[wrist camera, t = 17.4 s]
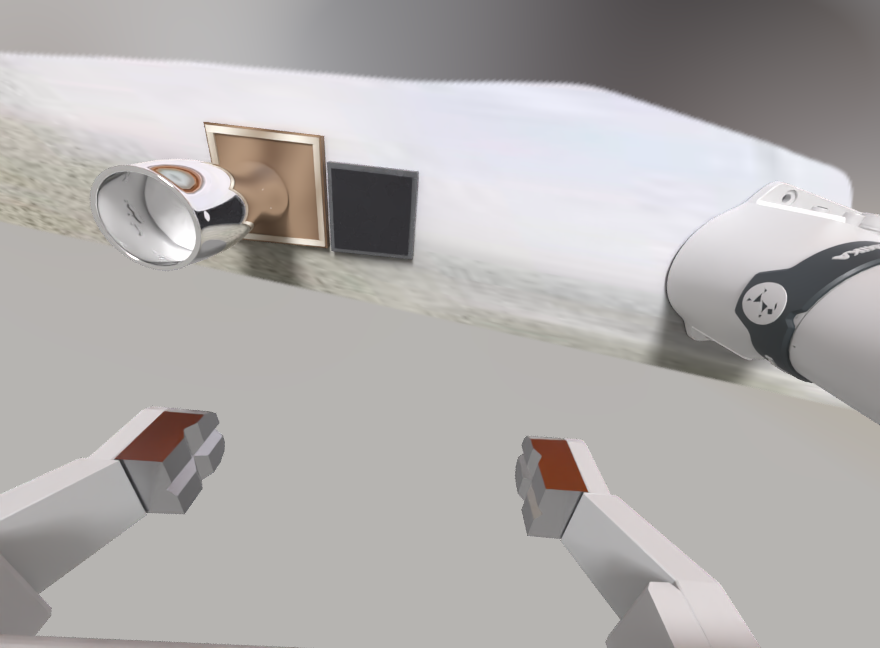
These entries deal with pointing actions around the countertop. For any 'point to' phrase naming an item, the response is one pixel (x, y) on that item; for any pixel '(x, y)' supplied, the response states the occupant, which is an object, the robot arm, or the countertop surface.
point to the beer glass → (183, 208)
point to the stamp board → (297, 167)
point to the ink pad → (372, 209)
